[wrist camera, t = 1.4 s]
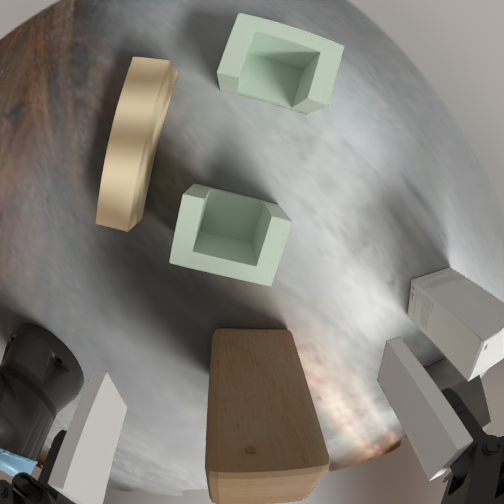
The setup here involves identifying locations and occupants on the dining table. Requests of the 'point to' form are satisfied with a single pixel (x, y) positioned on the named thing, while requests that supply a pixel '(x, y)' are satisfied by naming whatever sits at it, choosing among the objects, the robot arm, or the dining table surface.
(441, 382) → the planter
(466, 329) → the skincare box
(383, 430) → the dining table surface
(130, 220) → the slat
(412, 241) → the dining table surface
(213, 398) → the wooden block
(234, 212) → the end caps
